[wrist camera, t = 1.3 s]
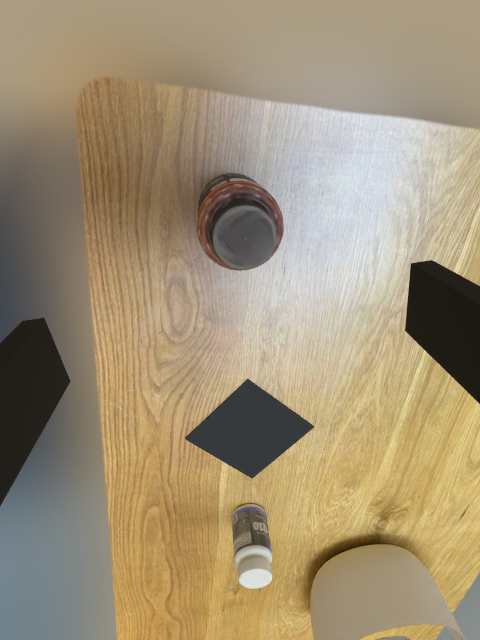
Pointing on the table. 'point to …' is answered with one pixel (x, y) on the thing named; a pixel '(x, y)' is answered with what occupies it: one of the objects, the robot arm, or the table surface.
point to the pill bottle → (252, 546)
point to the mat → (249, 430)
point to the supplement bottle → (238, 222)
